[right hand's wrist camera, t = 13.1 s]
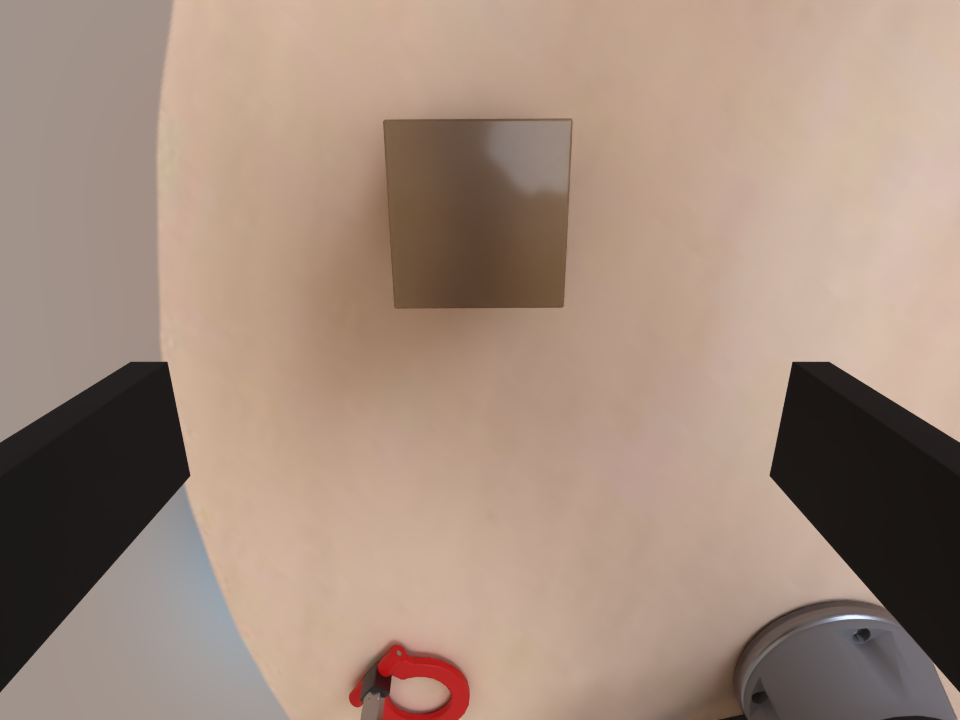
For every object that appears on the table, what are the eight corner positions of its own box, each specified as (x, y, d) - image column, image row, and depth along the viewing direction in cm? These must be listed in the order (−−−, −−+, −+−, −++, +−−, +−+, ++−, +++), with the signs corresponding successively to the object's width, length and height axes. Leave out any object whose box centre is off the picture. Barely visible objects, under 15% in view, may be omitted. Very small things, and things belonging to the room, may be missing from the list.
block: (545, 125, 34) (573, 118, 24) (540, 262, 37) (563, 308, 27) (411, 126, 34) (382, 119, 24) (417, 263, 37) (394, 309, 27)
